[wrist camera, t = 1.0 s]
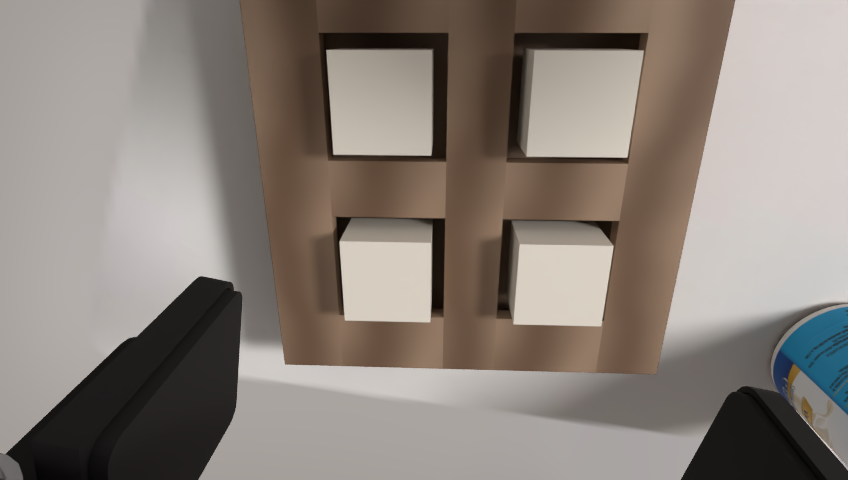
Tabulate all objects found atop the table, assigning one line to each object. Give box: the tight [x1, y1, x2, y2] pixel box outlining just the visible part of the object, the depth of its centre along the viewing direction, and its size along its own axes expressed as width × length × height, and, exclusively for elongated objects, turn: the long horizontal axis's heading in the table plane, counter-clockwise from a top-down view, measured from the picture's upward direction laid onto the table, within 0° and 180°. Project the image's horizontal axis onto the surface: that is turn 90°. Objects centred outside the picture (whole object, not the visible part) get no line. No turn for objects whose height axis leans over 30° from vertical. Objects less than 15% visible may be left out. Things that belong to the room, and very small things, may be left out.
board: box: [240, 0, 735, 374], centre depth 28 cm, size 22×22×4 cm
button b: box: [339, 218, 433, 322], centre depth 28 cm, size 5×5×4 cm
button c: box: [326, 48, 434, 156], centre depth 24 cm, size 5×5×4 cm
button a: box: [517, 48, 644, 158], centre depth 24 cm, size 5×5×4 cm
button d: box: [506, 220, 614, 326], centre depth 27 cm, size 5×5×4 cm
